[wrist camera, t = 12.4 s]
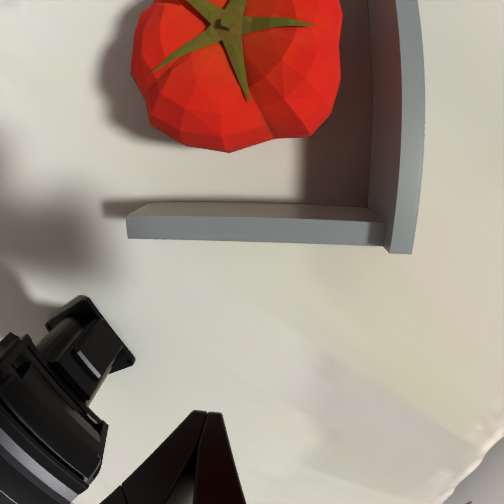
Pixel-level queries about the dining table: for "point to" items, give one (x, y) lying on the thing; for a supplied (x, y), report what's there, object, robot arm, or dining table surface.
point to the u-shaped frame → (381, 165)
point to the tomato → (238, 69)
